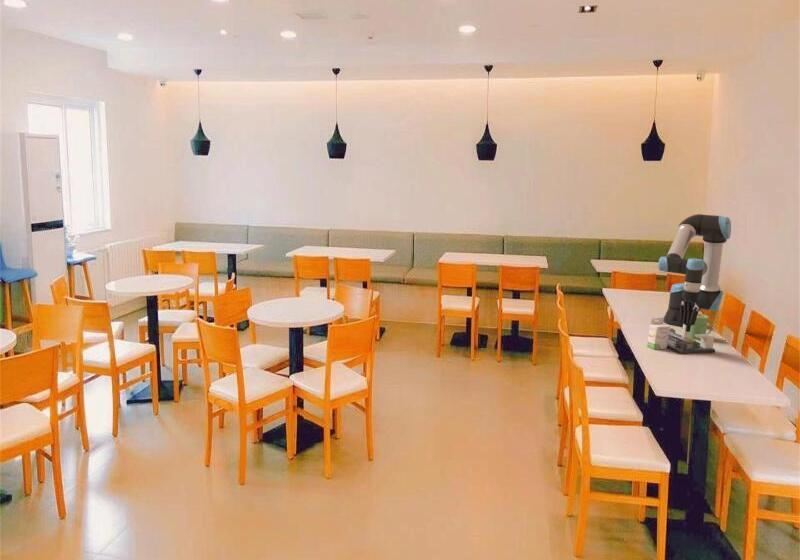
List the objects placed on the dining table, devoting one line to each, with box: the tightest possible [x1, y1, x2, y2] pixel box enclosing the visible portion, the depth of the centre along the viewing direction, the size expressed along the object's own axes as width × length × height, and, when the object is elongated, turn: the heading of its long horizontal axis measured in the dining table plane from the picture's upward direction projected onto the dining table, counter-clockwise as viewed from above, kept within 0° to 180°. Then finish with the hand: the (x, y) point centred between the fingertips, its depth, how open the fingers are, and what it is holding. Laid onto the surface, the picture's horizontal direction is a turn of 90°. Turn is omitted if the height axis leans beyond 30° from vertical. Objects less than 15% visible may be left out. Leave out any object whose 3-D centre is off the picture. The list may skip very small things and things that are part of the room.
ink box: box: [646, 317, 671, 350], centre depth 308 cm, size 9×5×15 cm, turn 113°
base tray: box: [666, 327, 716, 355], centre depth 313 cm, size 20×22×6 cm
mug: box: [689, 313, 713, 341], centre depth 330 cm, size 13×10×12 cm
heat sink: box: [668, 337, 689, 346], centre depth 312 cm, size 8×8×3 cm
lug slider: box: [695, 333, 715, 349], centre depth 306 cm, size 8×4×6 cm, turn 102°
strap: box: [669, 331, 695, 342], centre depth 311 cm, size 3×19×1 cm, turn 12°
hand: (685, 337), depth 307 cm, fingers closed
